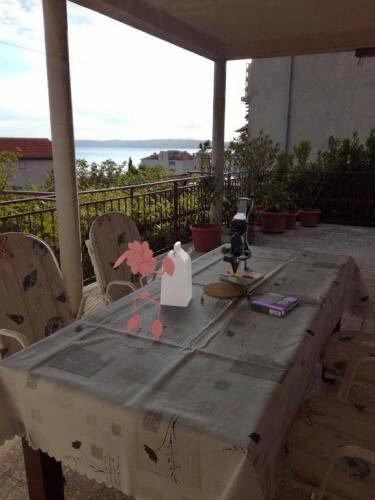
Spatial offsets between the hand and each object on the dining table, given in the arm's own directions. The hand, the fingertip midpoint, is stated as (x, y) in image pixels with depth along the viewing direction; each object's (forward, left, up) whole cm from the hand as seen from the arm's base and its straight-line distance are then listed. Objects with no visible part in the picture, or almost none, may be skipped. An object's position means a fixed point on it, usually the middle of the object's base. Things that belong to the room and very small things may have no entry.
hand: (236, 272), depth 203 cm
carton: (0, 0, -2) cm, 2 cm away
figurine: (+79, +10, -4) cm, 80 cm away
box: (+19, +32, -5) cm, 37 cm away
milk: (+43, -4, -4) cm, 43 cm away
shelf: (-6, 0, -4) cm, 7 cm away
